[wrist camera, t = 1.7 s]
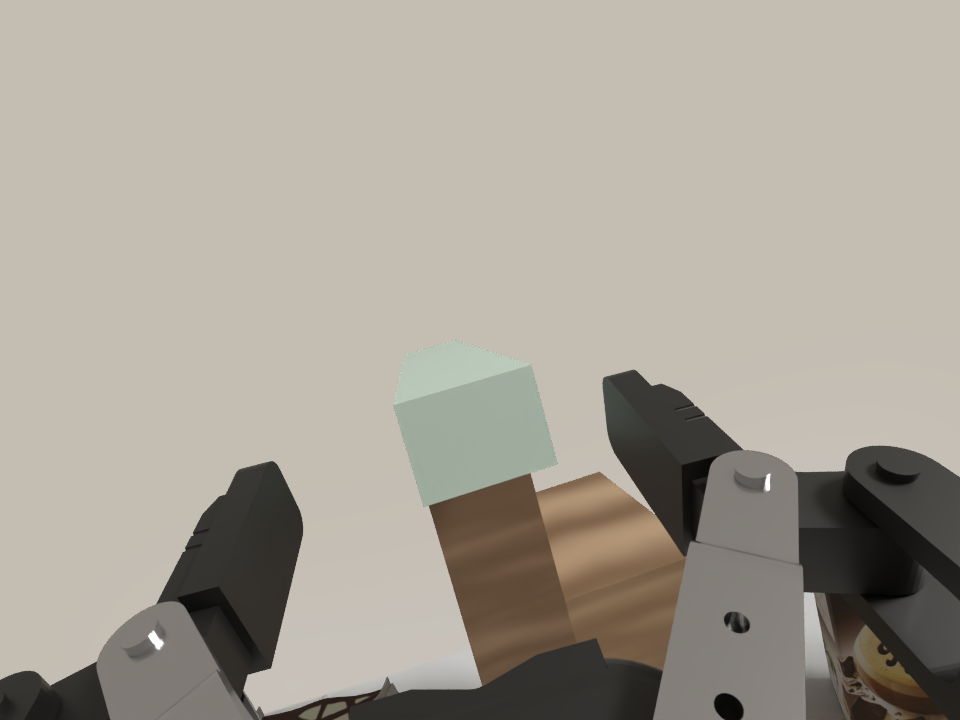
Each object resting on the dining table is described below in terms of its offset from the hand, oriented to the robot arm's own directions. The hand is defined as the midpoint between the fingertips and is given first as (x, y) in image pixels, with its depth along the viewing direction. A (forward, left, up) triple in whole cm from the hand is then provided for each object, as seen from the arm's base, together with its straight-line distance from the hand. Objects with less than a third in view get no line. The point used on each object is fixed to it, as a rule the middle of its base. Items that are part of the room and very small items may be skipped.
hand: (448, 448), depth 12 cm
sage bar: (-9, -11, -2) cm, 14 cm away
